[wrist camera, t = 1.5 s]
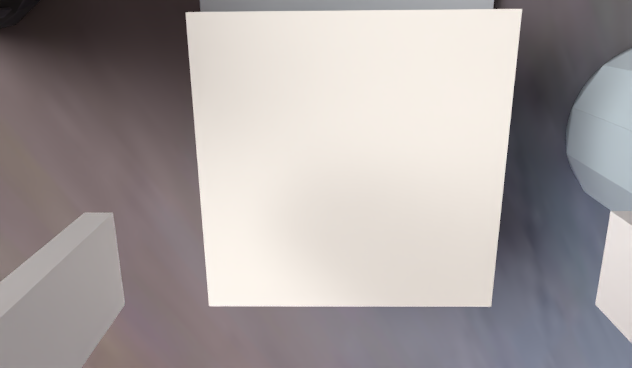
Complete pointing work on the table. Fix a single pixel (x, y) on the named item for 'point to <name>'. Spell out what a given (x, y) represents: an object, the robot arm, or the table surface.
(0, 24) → the portable speaker
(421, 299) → the white flat square block
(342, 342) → the table surface
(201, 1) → the stand
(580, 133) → the ceramic bowl
